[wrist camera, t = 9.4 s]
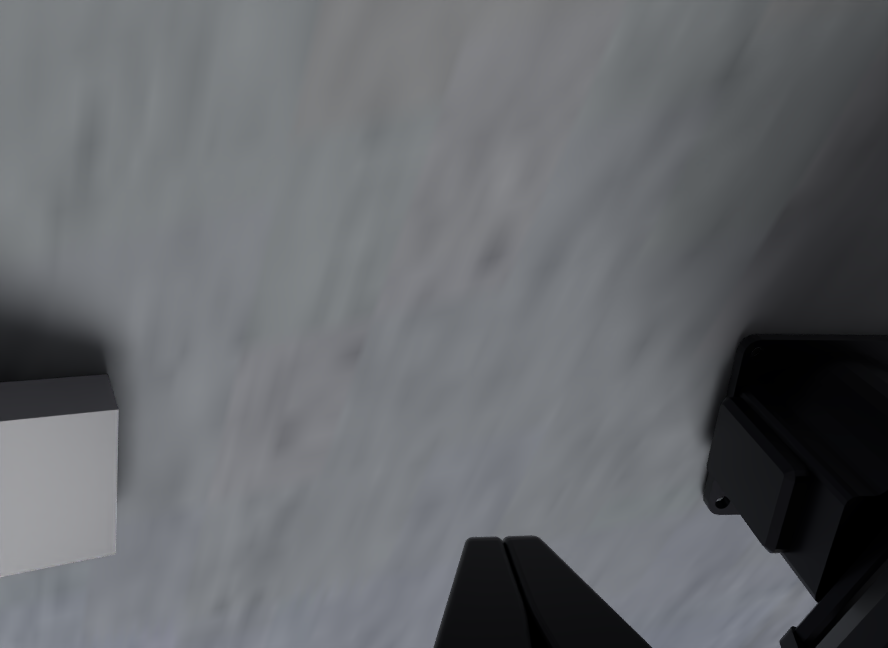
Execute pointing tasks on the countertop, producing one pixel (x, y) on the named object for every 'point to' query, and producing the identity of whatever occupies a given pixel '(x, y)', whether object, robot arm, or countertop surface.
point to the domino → (57, 472)
